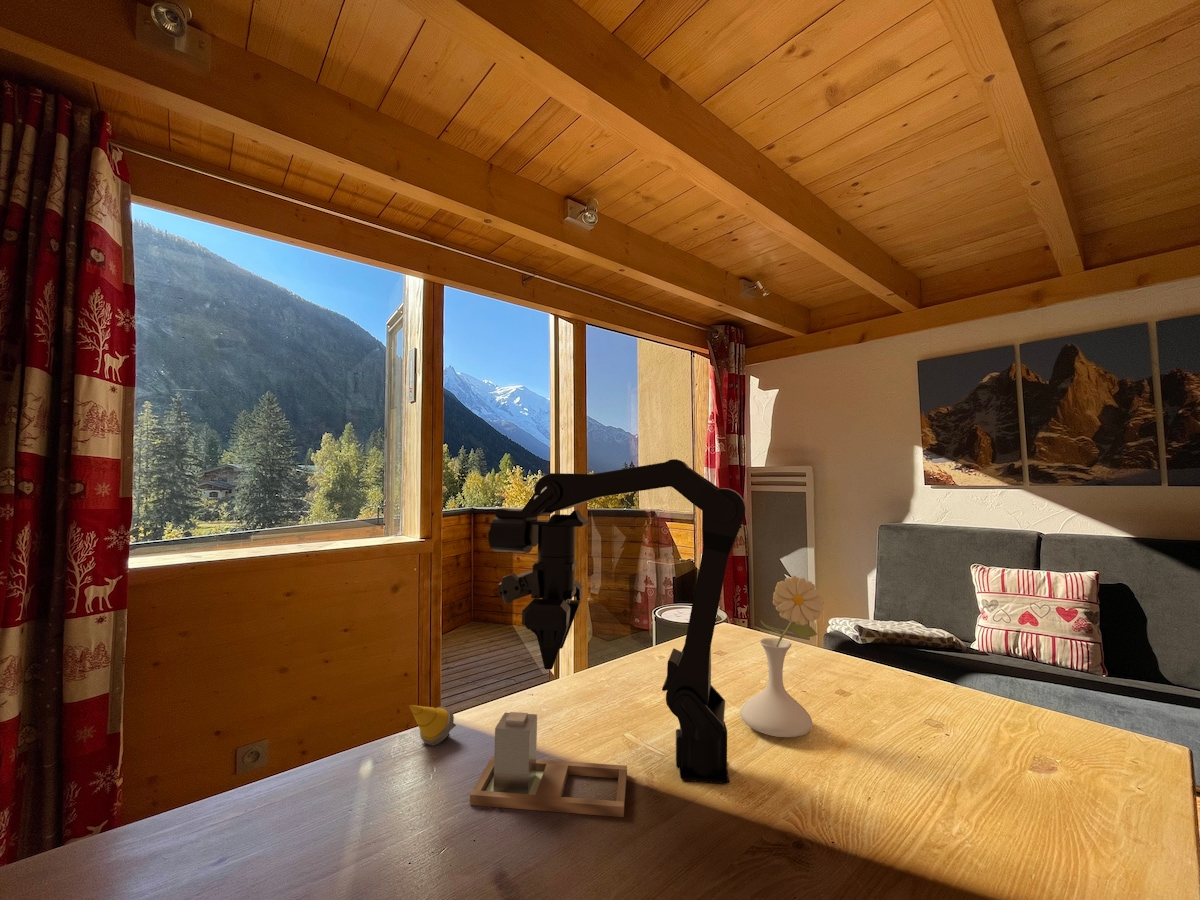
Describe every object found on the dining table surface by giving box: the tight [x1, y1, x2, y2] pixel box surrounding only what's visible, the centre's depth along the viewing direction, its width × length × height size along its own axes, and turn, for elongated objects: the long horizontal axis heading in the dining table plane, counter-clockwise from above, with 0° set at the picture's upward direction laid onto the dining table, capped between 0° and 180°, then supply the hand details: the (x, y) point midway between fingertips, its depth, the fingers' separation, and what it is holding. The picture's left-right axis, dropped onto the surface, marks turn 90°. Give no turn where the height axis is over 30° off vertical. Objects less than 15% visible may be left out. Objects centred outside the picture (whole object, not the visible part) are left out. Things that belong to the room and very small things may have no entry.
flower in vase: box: [739, 575, 824, 738], centre depth 86 cm, size 13×11×25 cm
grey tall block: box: [493, 711, 538, 794], centre depth 68 cm, size 4×4×9 cm
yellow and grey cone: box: [408, 704, 457, 746], centre depth 79 cm, size 5×5×10 cm
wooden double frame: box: [469, 755, 628, 818], centre depth 68 cm, size 19×9×1 cm, turn 85°
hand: (554, 658), depth 79 cm, fingers open, 9 cm apart
